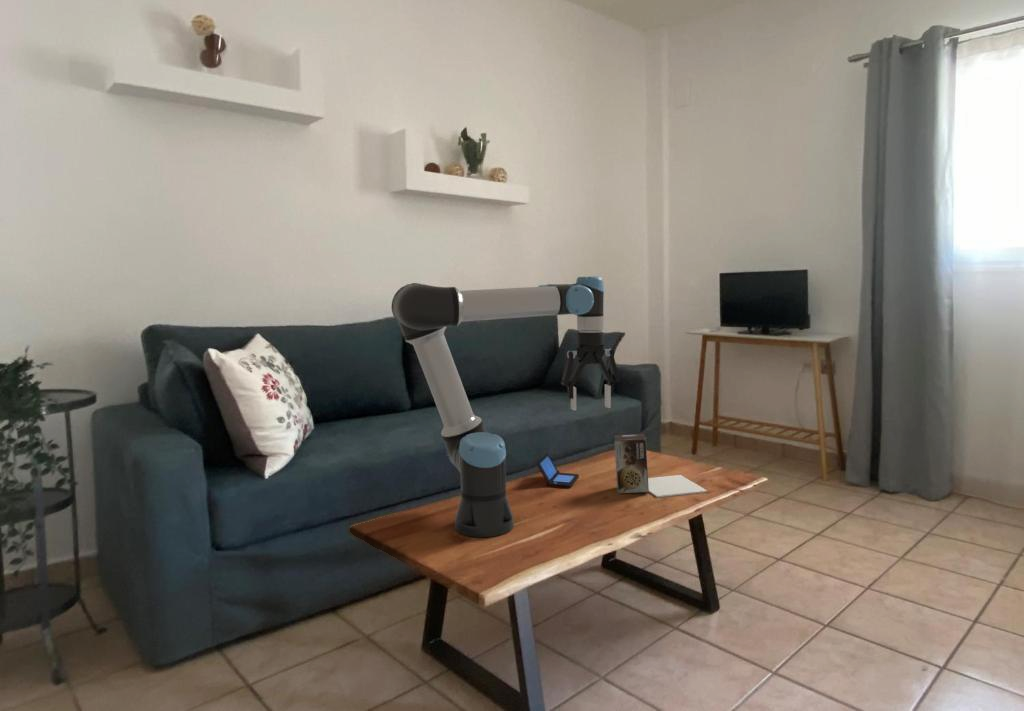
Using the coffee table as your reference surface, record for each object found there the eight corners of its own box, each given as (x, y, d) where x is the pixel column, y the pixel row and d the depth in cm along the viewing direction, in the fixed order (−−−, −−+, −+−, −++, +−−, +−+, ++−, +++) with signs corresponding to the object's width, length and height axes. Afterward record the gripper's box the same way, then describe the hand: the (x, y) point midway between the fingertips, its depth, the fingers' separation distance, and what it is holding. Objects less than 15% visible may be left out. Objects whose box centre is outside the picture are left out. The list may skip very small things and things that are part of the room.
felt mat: (656, 497, 192) (656, 495, 192) (633, 481, 207) (633, 479, 207) (707, 492, 196) (707, 490, 195) (680, 476, 211) (680, 474, 211)
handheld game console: (570, 489, 201) (570, 465, 200) (536, 486, 204) (535, 463, 204) (579, 477, 213) (579, 454, 212) (547, 474, 216) (546, 452, 215)
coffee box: (646, 485, 201) (644, 433, 199) (649, 492, 195) (646, 438, 193) (616, 486, 202) (613, 434, 200) (617, 493, 196) (614, 440, 194)
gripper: (621, 328, 196) (621, 403, 198) (548, 331, 190) (549, 408, 193) (632, 330, 188) (632, 408, 191) (556, 333, 183) (557, 413, 186)
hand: (590, 408), depth 192 cm, fingers open, 10 cm apart
